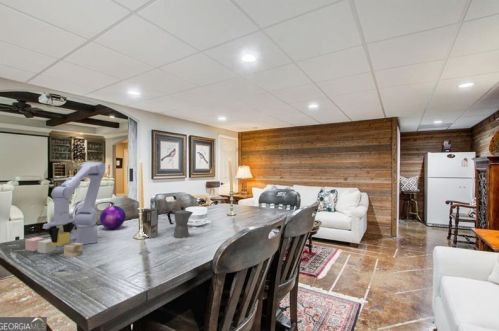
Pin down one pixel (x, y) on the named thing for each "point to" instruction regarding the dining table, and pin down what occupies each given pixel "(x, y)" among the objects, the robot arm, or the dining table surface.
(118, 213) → the decorative orb
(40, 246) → the grey block
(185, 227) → the coffeepot
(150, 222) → the coffee box
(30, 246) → the pink block
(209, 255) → the dining table surface
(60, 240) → the mustard block
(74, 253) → the maple block
